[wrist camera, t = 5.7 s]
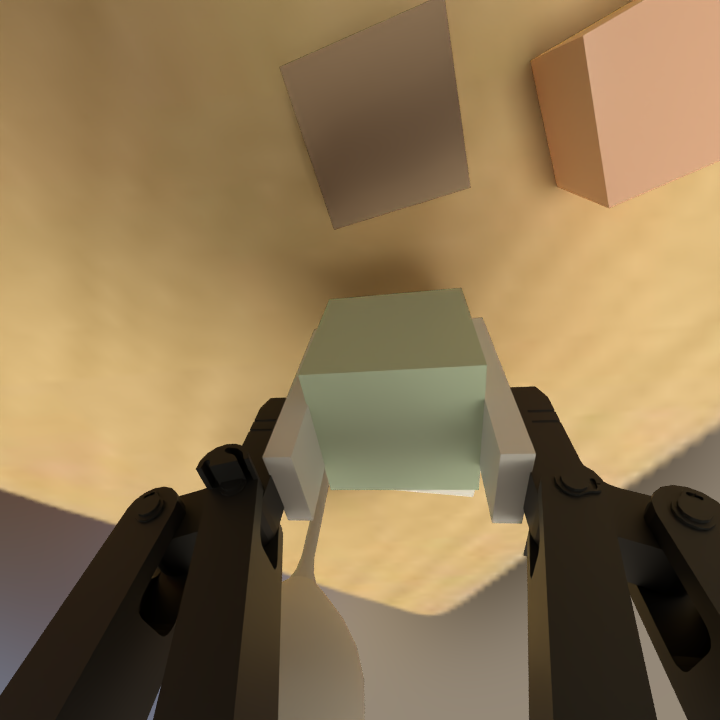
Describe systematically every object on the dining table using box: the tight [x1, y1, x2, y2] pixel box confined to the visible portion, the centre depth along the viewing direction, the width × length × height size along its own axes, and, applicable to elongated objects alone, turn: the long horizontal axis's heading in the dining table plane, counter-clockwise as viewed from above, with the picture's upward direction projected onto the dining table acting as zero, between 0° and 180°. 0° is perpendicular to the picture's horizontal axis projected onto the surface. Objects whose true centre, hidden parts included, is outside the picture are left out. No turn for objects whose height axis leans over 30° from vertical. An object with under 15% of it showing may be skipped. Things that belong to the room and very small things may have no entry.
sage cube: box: [298, 288, 487, 490], centre depth 13 cm, size 5×5×5 cm
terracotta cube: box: [530, 0, 720, 208], centre depth 12 cm, size 5×5×5 cm
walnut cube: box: [280, 0, 471, 230], centre depth 14 cm, size 5×5×5 cm
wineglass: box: [278, 469, 365, 720], centre depth 19 cm, size 8×8×21 cm
